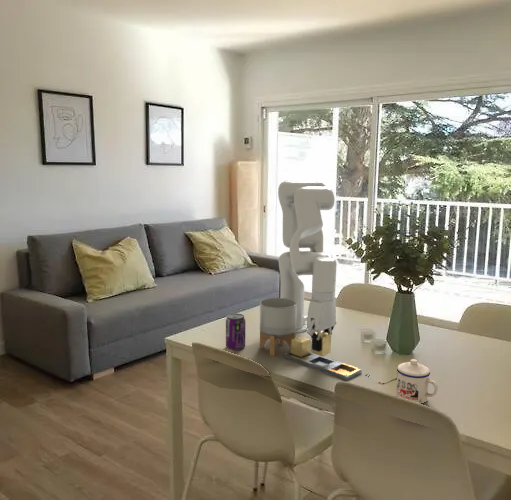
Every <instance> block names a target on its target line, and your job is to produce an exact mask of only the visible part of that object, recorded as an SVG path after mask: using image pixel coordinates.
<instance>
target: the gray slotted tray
mask: <svg viewBox="0 0 511 500" xmlns="http://www.w3.org/2000/svg"><path fill="white" fill-rule="evenodd" d="M283 358H284V359H287V360H290V361H293V362H295V363H298V364H301V365H304V366H307V367H308V368H312V369H315V370H317V371H320V372H322V373H325V374H328V375H331V376H333V377H336V378H338V379H342V380H344V381H349V380H351V379H353V378H355V377H357V376H359V375H360V374H362V369H361V368H359V367H356V366H354V365H351V364H348V363H345V362H341V361H338V360H334V359H332V358H329V357H327V356H319V355H316V354H314V353H311V351H310V356H307V357H305V358H302V359H301V358H298V357H295V356H292V355H291V350H290V351H288V352H286V353H284V354H283Z"/></svg>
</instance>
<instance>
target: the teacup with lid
mask: <svg viewBox="0 0 511 500" xmlns="http://www.w3.org/2000/svg"><path fill="white" fill-rule="evenodd" d="M397 366H398V367H397V371H398V372H397V379H396V388H395V389H396V390H395V391H396V392H395V397H396V396H398V397H401V398H404V399H408V400H411V401H415V402H419V403H424V402H426V401H428V398H432V397H433V398H434V396H436V395H437V394H438V392H439V385H438V383H437V382H436V381H434V380H433V379H431V378H430V375H431V371H430V368H428V366H425V365H423V364H422V363H419V362H418V360H417V359H415V358H412V359H410V361H406V362H402V363H400V364H398V365H397ZM429 383H430V384H432V385H433V387H434V391H433V393H429ZM426 403H427V402H426ZM424 404H425V403H424Z"/></svg>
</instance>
